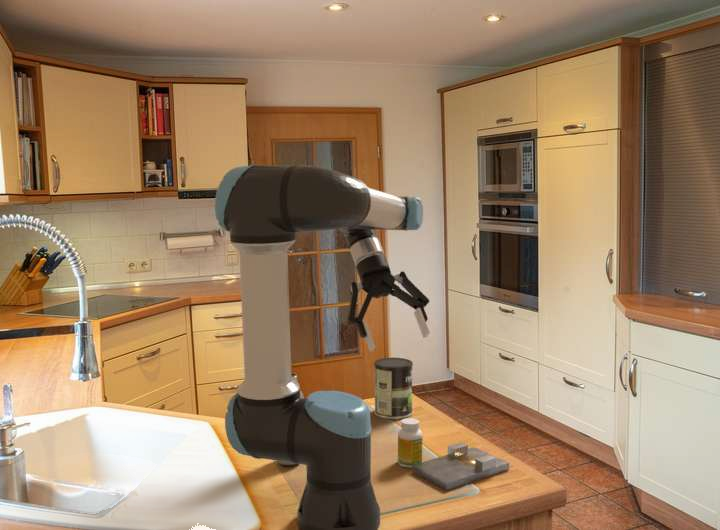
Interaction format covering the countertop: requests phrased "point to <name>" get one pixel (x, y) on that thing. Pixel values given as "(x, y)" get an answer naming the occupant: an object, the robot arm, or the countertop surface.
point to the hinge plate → (460, 466)
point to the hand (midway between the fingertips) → (400, 342)
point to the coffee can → (393, 388)
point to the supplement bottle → (409, 443)
